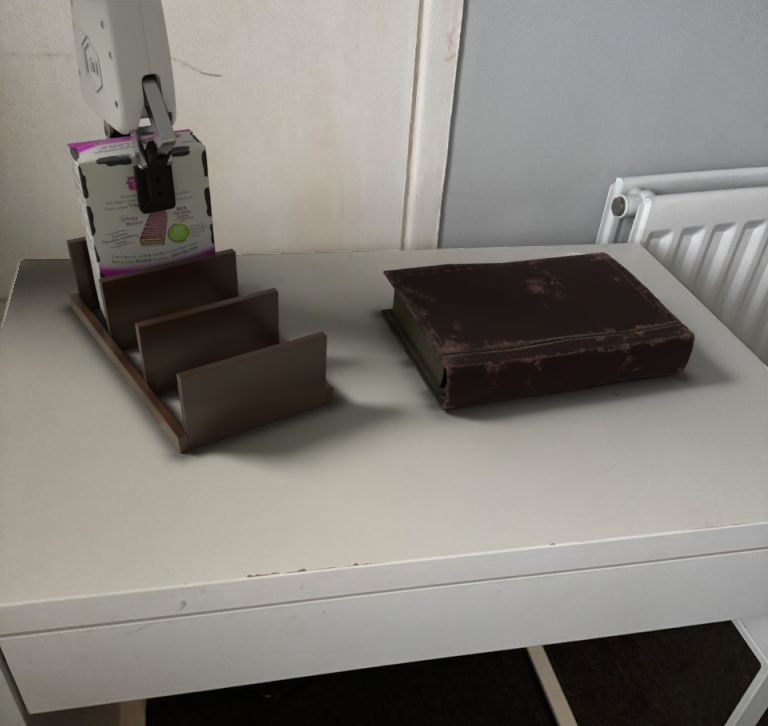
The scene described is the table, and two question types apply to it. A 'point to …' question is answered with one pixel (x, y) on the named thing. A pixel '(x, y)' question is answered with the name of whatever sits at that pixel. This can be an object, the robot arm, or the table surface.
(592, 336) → the diary
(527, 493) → the table surface
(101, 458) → the table surface
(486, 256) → the table surface
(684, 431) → the table surface
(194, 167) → the candy bar box
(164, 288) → the rack
